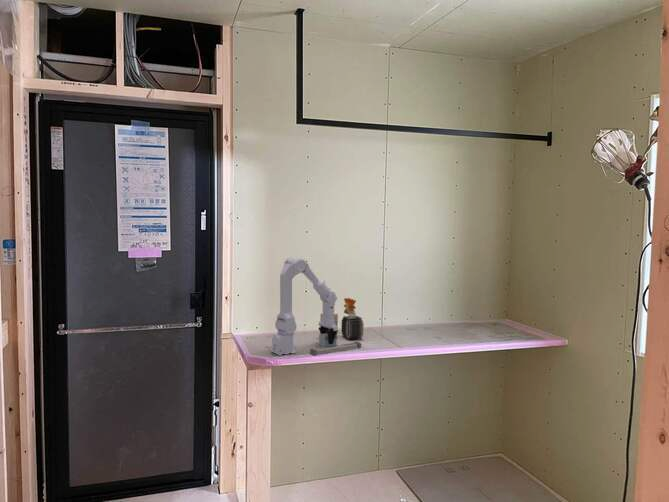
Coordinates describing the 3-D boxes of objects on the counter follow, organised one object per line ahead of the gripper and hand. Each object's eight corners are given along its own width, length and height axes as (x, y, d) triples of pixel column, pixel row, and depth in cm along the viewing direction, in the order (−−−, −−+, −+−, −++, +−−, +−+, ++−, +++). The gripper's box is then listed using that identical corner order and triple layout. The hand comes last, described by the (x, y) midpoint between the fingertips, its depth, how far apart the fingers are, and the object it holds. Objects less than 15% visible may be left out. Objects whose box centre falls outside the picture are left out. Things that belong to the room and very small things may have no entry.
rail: (314, 355, 215) (314, 350, 215) (310, 353, 219) (310, 348, 219) (361, 348, 230) (361, 343, 230) (356, 346, 233) (356, 341, 233)
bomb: (349, 340, 244) (350, 302, 243) (339, 335, 257) (340, 298, 256) (363, 339, 247) (364, 301, 246) (352, 334, 260) (353, 298, 259)
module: (324, 347, 230) (324, 335, 230) (319, 345, 234) (319, 333, 234) (336, 345, 234) (336, 334, 234) (330, 343, 238) (331, 332, 238)
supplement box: (324, 339, 246) (325, 314, 245) (319, 338, 250) (320, 313, 249) (337, 338, 251) (338, 313, 250) (332, 336, 254) (332, 312, 254)
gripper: (343, 316, 230) (342, 344, 230) (327, 312, 242) (326, 338, 242) (331, 318, 226) (330, 346, 226) (315, 313, 238) (314, 340, 239)
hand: (327, 342), depth 234 cm, fingers closed on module, 5 cm apart
